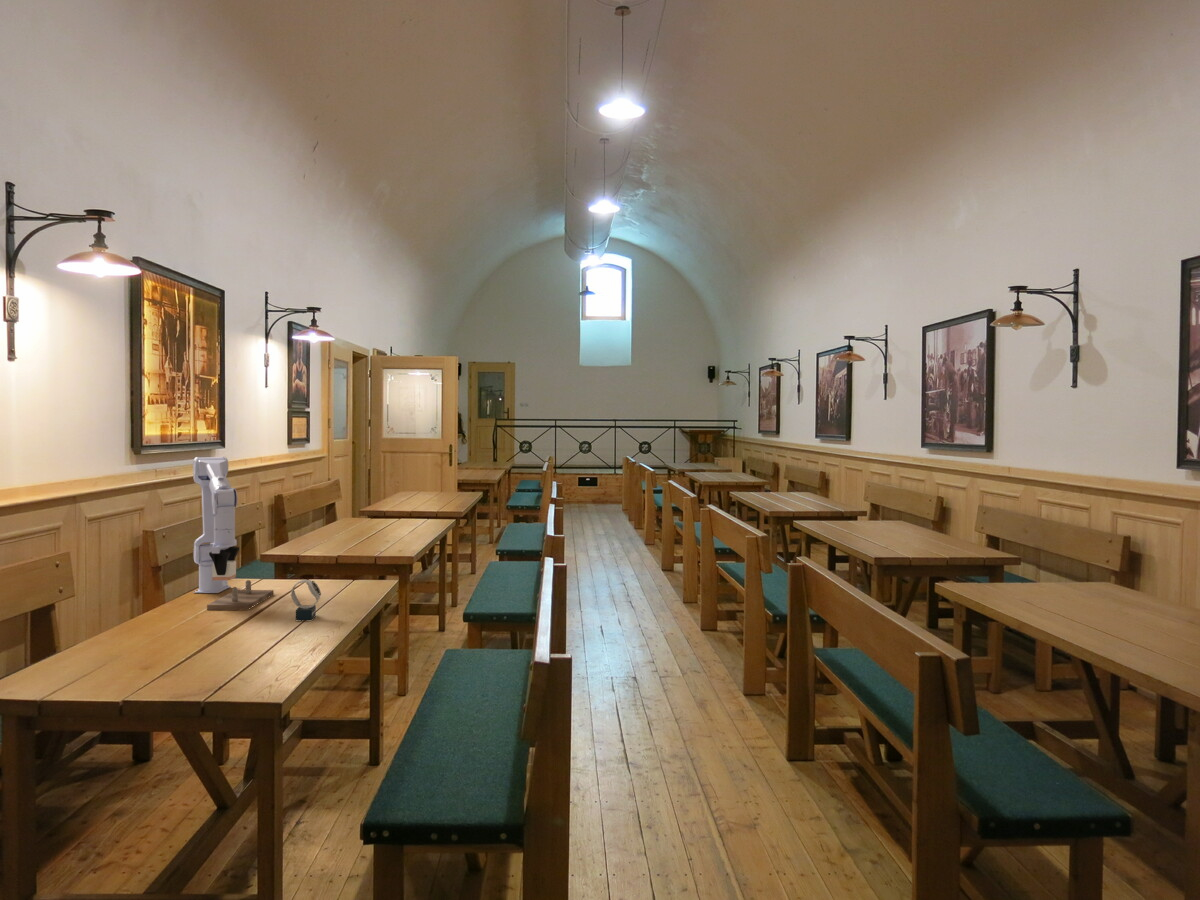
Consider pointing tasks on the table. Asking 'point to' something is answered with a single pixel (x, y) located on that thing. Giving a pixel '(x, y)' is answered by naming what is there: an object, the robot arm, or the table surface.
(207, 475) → the robot arm
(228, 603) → the pin board
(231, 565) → the sleeve
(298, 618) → the watch
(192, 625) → the table surface
